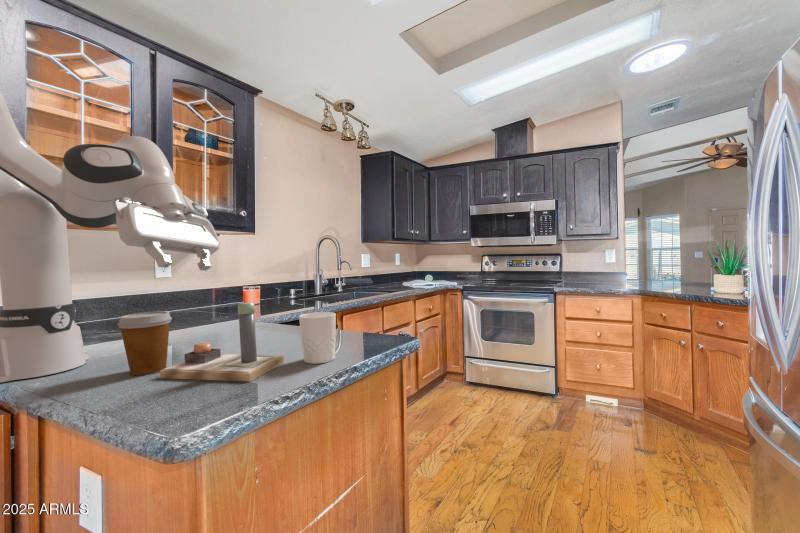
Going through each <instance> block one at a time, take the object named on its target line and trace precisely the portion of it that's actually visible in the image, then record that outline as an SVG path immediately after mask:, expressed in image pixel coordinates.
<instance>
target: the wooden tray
mask: <svg viewBox="0 0 800 533" xmlns="http://www.w3.org/2000/svg"><path fill="white" fill-rule="evenodd" d="M284 358H285V356H284V355H278V354H277V355H275V354H274V355H270V354H267V355H266V354H257V361H255V362H252V363H242V362H241V354H229V353H228V354H226V353H225V354H222V353H221V348H211V352H208V353H206V354H194V350H193V351H190V352H188V353H187V352H186V353H184V361H182V362H179V363H176V364H173V365H170V366H168V367H166V368H165V369H163V370H160V372H159V376H160V379H173V380H174V379H176V380H199V381H200V380H203V381H223V382H224V381H225V382H252V381H254V380H256V379H258V378H259V377H262V376H263V375H265V374H267V373H268V372H270V371H272V370H273V369H275V368H277V367H279V366H281V365H282V364H284V363H285V359H284ZM266 372H267V373H266ZM257 377H258V378H257Z"/></svg>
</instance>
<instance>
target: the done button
mask: <svg viewBox="0 0 800 533" xmlns="http://www.w3.org/2000/svg"><path fill="white" fill-rule="evenodd" d="M211 349H212V343H211V342H201V343H196V344H194V345H193V351H194V354H206V353H208V352H211Z"/></svg>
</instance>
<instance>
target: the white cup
mask: <svg viewBox="0 0 800 533" xmlns="http://www.w3.org/2000/svg"><path fill="white" fill-rule="evenodd" d="M298 320H299V329H300V339H301V347H302V350H303V362H305V363H307V364H311V365H312V364H314V365H315V364H316V365H318V364H320V365H321V364H325V363H329V362H332V361H334V360H335V359H336V345H337V344H336V342H337V341H336V340H337V327H336V325H337V324H336V323H337V321H336V320H337V314H336V312H332V311H316V312H315V311H314V312H307V313H303V314H300V315H298Z"/></svg>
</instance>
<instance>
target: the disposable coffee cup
mask: <svg viewBox="0 0 800 533" xmlns="http://www.w3.org/2000/svg"><path fill="white" fill-rule="evenodd" d="M172 319H173V317H172V316H171V314H170V311H159V310H158V311H145V312H137V313H130V314H125V315H122V316H119V319H118V320H119V321H118V323H117V326H118V328H119V329H120V332H121V337H122V340H123V341H122V343H123V346H124V351H125V355H126V359H127V363H128V364H127V365H128V367H129V373H130V375H131V376H147V375H152V374H157V373H160V370H163V369H165V368H167V361H168V349H169V334H170V323H171V322H172V321H171V320H172Z"/></svg>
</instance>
